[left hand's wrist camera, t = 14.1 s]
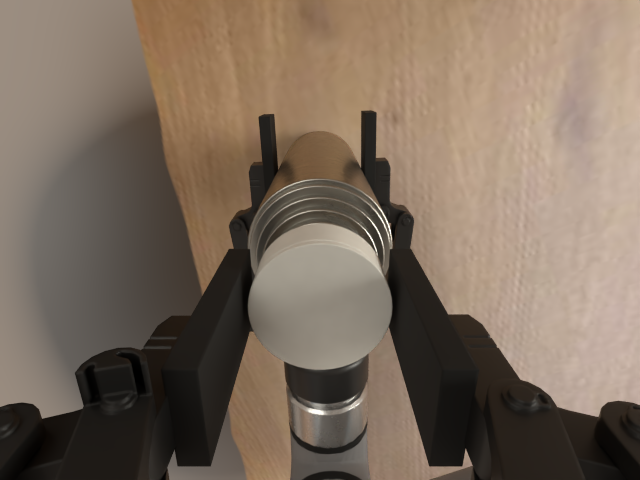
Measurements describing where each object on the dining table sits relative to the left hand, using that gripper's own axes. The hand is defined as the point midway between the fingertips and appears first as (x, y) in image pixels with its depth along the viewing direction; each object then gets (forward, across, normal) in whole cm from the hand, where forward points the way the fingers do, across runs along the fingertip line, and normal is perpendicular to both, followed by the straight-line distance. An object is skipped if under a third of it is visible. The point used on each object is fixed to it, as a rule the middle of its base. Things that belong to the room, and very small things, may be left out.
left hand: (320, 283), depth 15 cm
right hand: (+16, 0, -5) cm, 17 cm away
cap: (-2, 0, 0) cm, 2 cm away
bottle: (+23, 0, 0) cm, 23 cm away
